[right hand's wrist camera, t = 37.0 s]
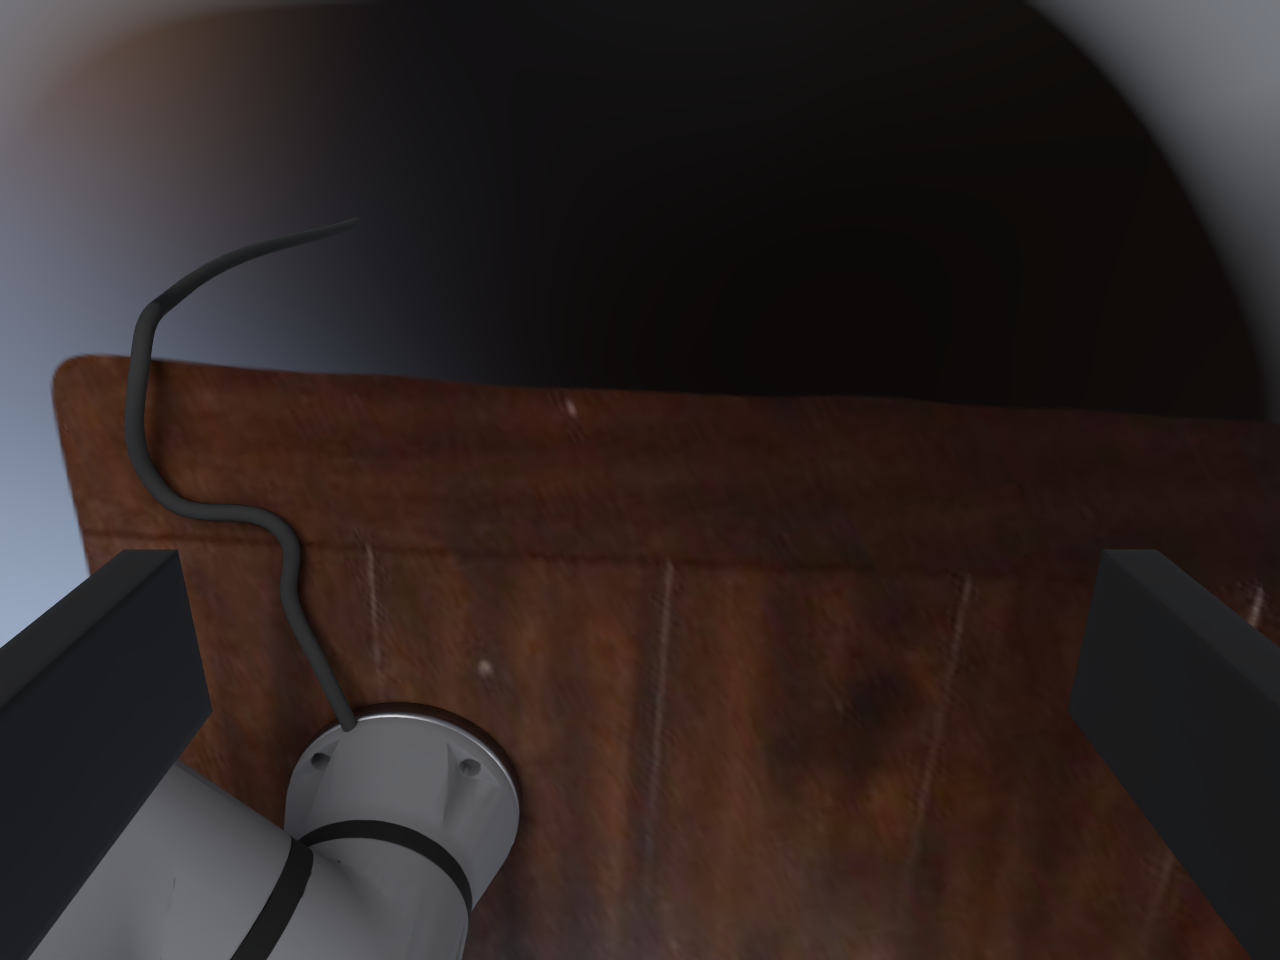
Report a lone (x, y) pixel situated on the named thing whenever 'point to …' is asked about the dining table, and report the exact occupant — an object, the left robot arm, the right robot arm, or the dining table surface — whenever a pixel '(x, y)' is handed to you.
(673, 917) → the dining table surface
